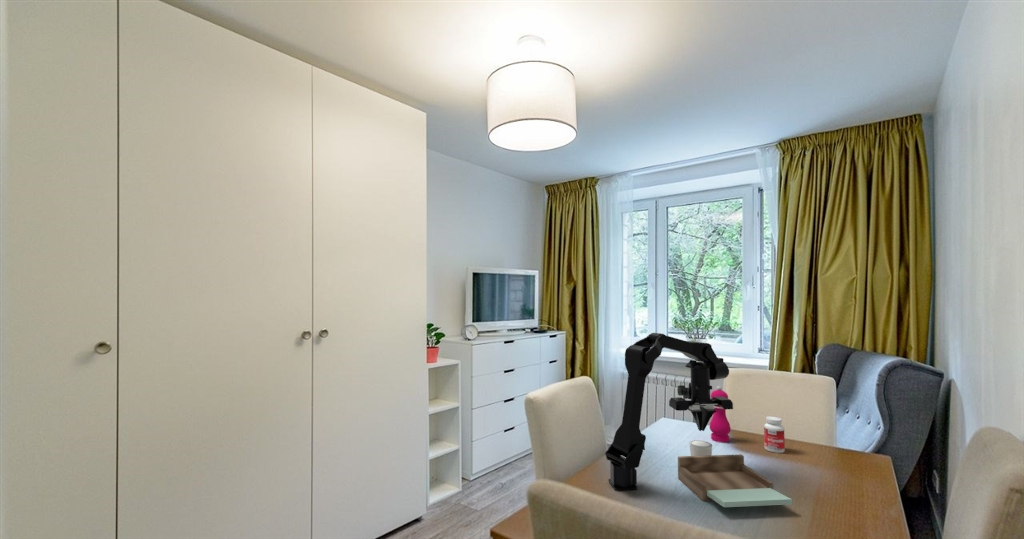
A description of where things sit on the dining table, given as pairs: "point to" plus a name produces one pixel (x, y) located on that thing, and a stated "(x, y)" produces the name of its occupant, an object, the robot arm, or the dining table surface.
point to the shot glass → (700, 448)
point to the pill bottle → (774, 435)
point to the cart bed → (718, 474)
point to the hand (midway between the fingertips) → (701, 430)
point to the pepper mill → (719, 419)
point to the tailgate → (748, 497)
